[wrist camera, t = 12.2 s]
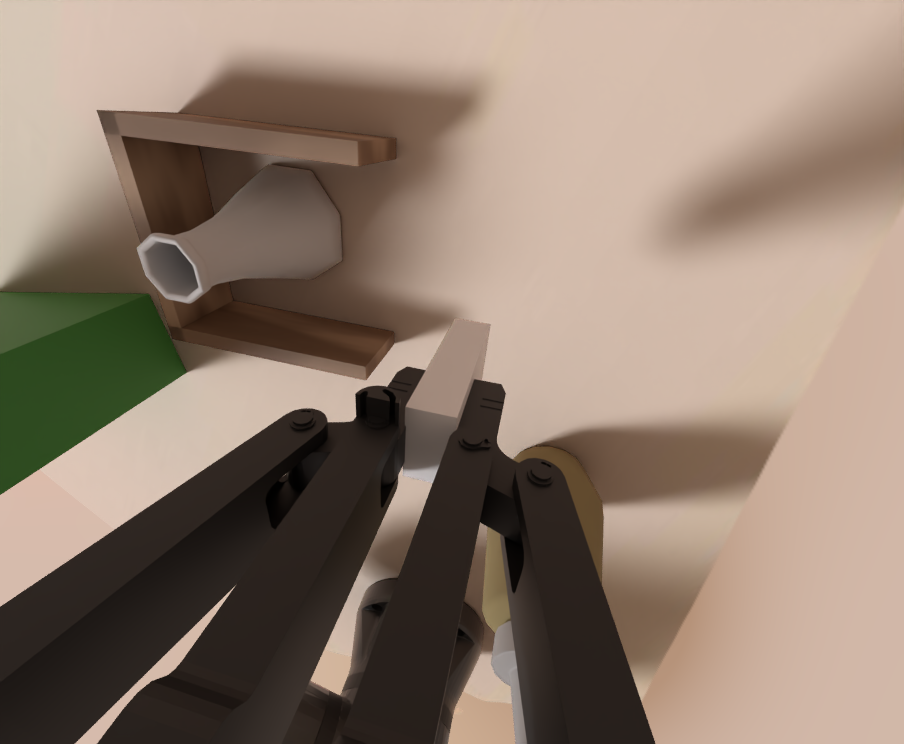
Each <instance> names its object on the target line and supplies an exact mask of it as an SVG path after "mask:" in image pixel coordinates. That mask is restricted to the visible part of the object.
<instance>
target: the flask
mask: <svg viewBox="0 0 904 744" xmlns="http://www.w3.org/2000/svg"><path fill="white" fill-rule="evenodd" d="M136 249H137V252H138V255H139V258H140V261H141V264H142V267H143V270H144V273H145V276H146V277H147V278H148V279H149V280H150V281H151V282H152V284H153V285H154V286H155V287H156V288H157V289H158V290H159V291H160V293H161V294H162V295H163V296H164V297H165V298H166V299H169V300H174V301H179V302H184V303H188V304H190V303H192V302H194V301H195V300H197V299H198V298H199V297H201V296H202V295H203V294H205V293H206V292H207V291H209V290H210V289H211V287H212V286H214V285H216V284H219V283H224V282H229V281H234V280H239V279H244V278H286V279H314V278H316V277H317V276H319V275H320V274H322V273H324V272H325V271H327V270H328V269H330V268H331V267H333V266H334V265H336V264H338V263H339V262H341V261H342V242H341V223H340V214H339V212H338V211H337V209H336V208H335V206H334V205H333V203H332V202H331V200H330V199H329V197H328V196H327V194H326V192H325V191H324V189H323V188H322V186H321V185H320V183H319V182H318V180H317V179H316V177H315V175H314V174H313V172H312V171H311V170H305V169H298V168H291V167H284V166H277V165H270V164H268V165H267V166H265V167H264V168H263V169H262V170H261V171H260V172H259V173H258V174H257V175H255V176H254V177H253V178H252V179H251V180H250V181H249V182H248V183H247V184H245V185H244V186H243V187H242V188H241V189H240V190H239V191H238V192H237V193H236V194H235V195H234V196H233V197H232V198H231V199H230V200H229V201H228V202H227V203H226V205H225V206H224V207H223V208H222V209H221V210H220V211H219V212H218V213H217V214H216V215H215V216H214V217H213V218H211V219H209V220H208V221H206V222H204V223H202V224H201V225H199V226H197V227H195V228H194V229H192V230H190V231H187V232H184V233H180V234H177V235H169V234H164V233H153V234H150V235H149V236H148V237H147V238H146V239H145V240H144V241H143V242H142V243H141V244H140V245H139V246H138V247H137V248H136Z"/></svg>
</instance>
